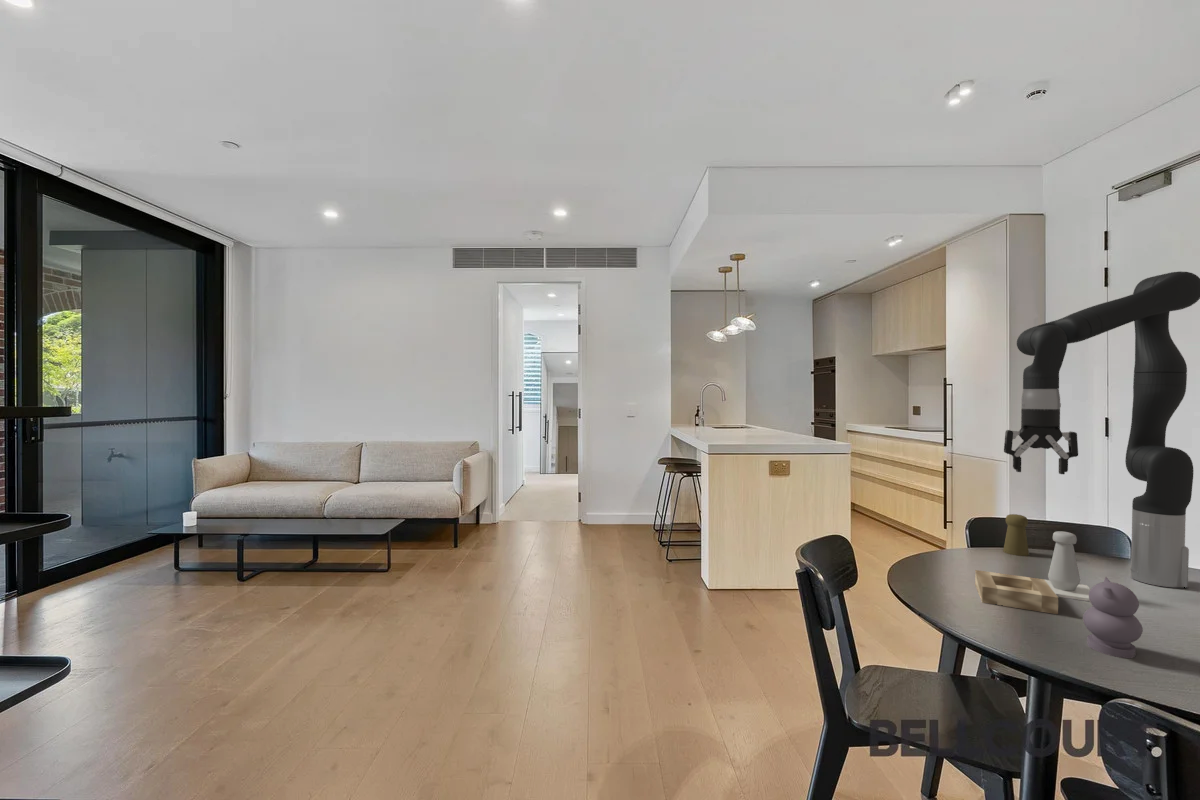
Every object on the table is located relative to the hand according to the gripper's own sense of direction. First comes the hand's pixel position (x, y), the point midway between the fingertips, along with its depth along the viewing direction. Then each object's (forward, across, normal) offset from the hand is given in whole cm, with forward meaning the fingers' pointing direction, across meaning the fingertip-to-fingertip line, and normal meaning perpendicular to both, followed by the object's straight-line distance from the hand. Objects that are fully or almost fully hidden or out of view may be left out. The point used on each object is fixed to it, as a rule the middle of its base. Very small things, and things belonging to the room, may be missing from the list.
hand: (1039, 472), depth 137 cm
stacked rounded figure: (+26, -2, +42) cm, 50 cm away
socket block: (+26, +8, +20) cm, 34 cm away
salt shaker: (+26, -3, +8) cm, 27 cm away
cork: (+26, 0, -25) cm, 36 cm away
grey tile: (+26, -3, +8) cm, 28 cm away
